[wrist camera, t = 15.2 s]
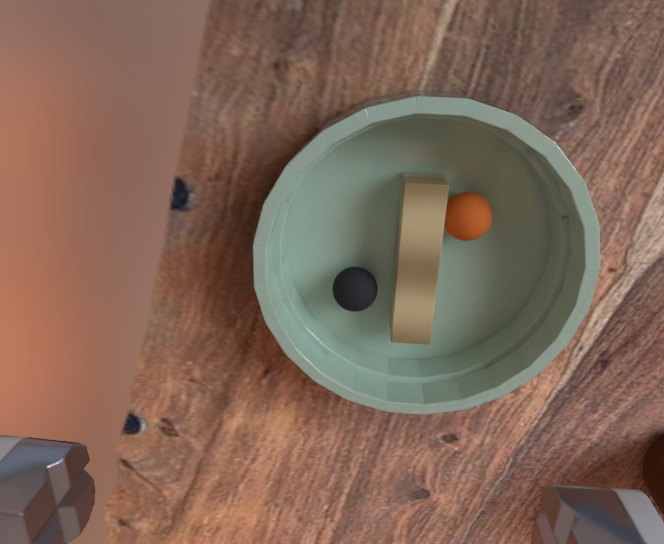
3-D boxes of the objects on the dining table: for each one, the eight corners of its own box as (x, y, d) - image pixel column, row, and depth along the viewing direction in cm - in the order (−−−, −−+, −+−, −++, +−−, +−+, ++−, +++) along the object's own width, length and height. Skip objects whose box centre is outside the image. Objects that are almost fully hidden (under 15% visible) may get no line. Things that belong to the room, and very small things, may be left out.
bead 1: (381, 260, 32) (340, 256, 31) (388, 301, 31) (346, 299, 29) (362, 280, 34) (323, 277, 33) (368, 319, 33) (328, 317, 32)
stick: (401, 171, 30) (404, 182, 28) (442, 173, 30) (449, 184, 27) (389, 320, 34) (390, 342, 31) (425, 323, 34) (429, 345, 31)
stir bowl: (267, 82, 29) (248, 88, 25) (600, 97, 28) (644, 106, 24) (270, 358, 37) (255, 402, 32) (534, 378, 36) (558, 426, 31)
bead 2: (426, 219, 31) (447, 179, 29) (463, 224, 32) (485, 185, 30) (447, 248, 29) (471, 207, 27) (486, 252, 30) (510, 212, 28)
